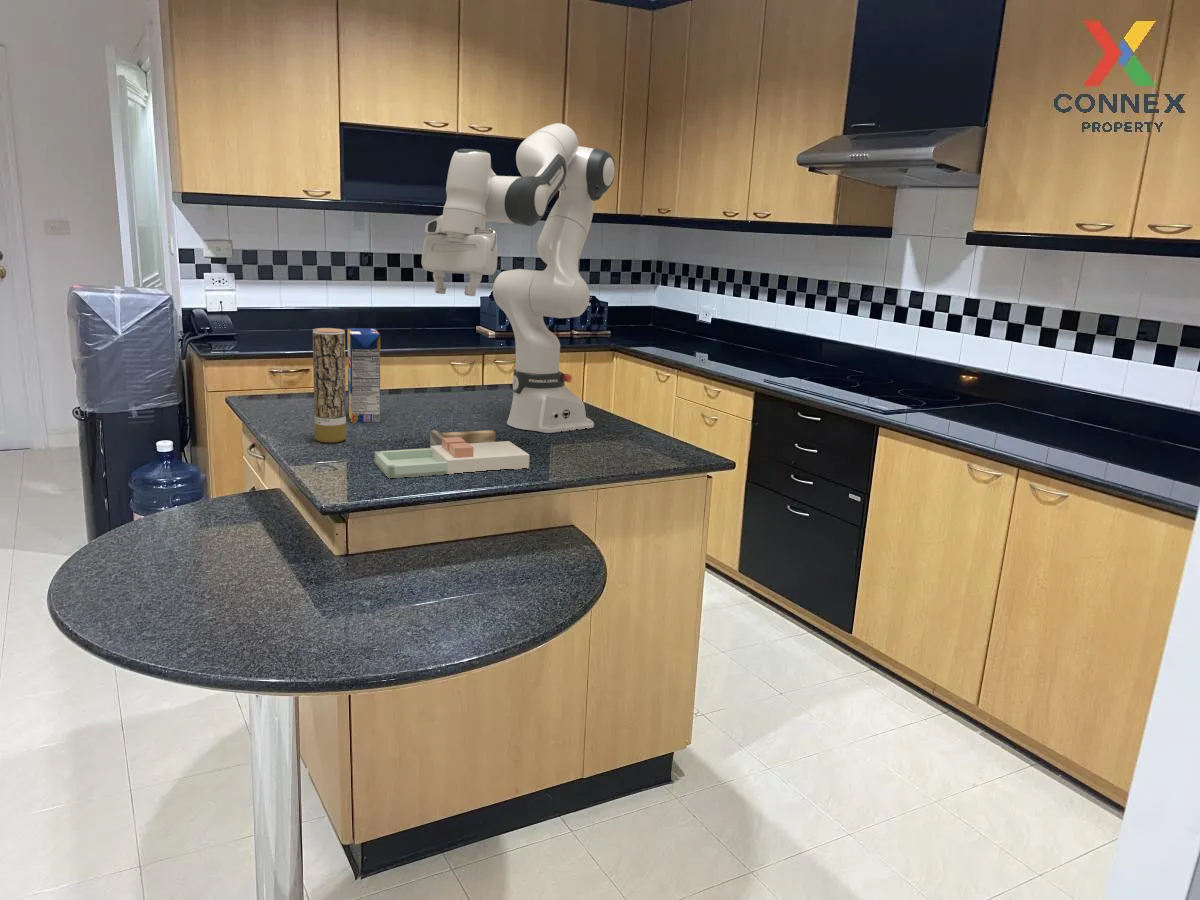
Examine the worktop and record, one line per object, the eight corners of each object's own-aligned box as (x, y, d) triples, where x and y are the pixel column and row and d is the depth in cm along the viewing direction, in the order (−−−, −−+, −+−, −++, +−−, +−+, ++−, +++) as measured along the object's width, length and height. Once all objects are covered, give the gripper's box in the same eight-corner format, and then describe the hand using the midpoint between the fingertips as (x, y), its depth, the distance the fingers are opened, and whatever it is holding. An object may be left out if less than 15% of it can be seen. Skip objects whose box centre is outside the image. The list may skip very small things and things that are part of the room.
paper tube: (337, 445, 198) (335, 333, 192) (309, 441, 199) (306, 330, 193) (351, 438, 204) (350, 329, 198) (324, 435, 206) (322, 327, 199)
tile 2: (467, 451, 188) (467, 442, 188) (473, 456, 185) (473, 447, 184) (448, 452, 186) (449, 443, 186) (454, 457, 183) (454, 448, 182)
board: (508, 454, 200) (508, 441, 199) (528, 468, 190) (529, 454, 189) (430, 459, 192) (430, 445, 191) (447, 474, 181) (447, 460, 181)
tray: (430, 459, 192) (430, 448, 191) (447, 474, 181) (447, 462, 181) (374, 463, 186) (374, 451, 186) (388, 479, 176) (388, 466, 175)
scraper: (484, 442, 209) (485, 425, 208) (501, 454, 200) (502, 437, 199) (430, 445, 203) (430, 428, 202) (444, 458, 194) (445, 440, 193)
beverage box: (351, 423, 218) (350, 334, 213) (348, 413, 228) (347, 328, 223) (380, 423, 221) (380, 334, 215) (375, 413, 231) (375, 328, 225)
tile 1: (459, 445, 192) (459, 436, 192) (465, 450, 189) (465, 441, 188) (441, 447, 190) (441, 437, 190) (447, 451, 187) (447, 442, 187)
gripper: (508, 231, 180) (499, 299, 181) (443, 231, 193) (435, 294, 194) (485, 224, 175) (476, 294, 176) (420, 224, 188) (412, 290, 189)
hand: (454, 294), depth 185 cm, fingers open, 8 cm apart
